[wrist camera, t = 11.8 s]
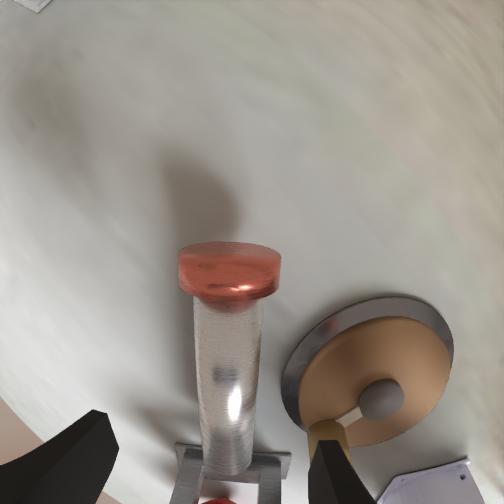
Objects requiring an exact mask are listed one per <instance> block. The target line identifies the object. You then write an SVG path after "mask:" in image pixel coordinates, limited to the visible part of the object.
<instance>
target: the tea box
mask: <svg viewBox="0 0 504 504" xmlns="http://www.w3.org/2000/svg"><path fill="white" fill-rule="evenodd" d="M13 1H15V2H16V3H18V4H20V5H22V6H24V7H26V8H28V9H30V10H31V11H33V12H35V13H39V11H40V10H41V9H42V8H43V7H45V6H46V5H47V4H48V3H49V2H50V1H51V0H13Z"/></svg>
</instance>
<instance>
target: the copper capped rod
mask: <svg viewBox="0 0 504 504" xmlns="http://www.w3.org/2000/svg"><path fill="white" fill-rule="evenodd" d="M280 265H281V255H280V254H279V253H278V252H277V251H275V250H273V249H271V248H268V247H264V246H260V245H255V244H249V243H240V242H209V243H201V244H195V245H191V246H188V247H185V248H183V249H182V250H180V251H179V252H178V280H179V286H180V287H181V289H182V290H184V291H185V292H187V293H188V294H190V295H193V306H194V335H195V356H196V374H197V389H198V403H199V416H200V428H201V438H202V449H203V458H204V463H205V465H206V466H207V467H208V468H209V469H210V470H211V471H212V472H214V473H216V474H219V475H224V476H232V475H237V474H240V473H242V472H244V471H245V470H246V469H247V468H248V467H249V466H250V464H251V460H252V449H253V437H254V425H255V412H256V399H257V386H258V373H259V359H260V345H261V331H262V316H263V301H264V297H266V296H269V295H271V294H273V293H274V292H275V291H276V290H277V289H278V287H279V278H280Z"/></svg>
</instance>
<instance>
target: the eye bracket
mask: <svg viewBox="0 0 504 504" xmlns="http://www.w3.org/2000/svg"><path fill="white" fill-rule="evenodd" d="M175 448H176V453H177V458H178V462H179V467H180V470H179V473H178V476H177V480H176V483H175V487H174V490H173V493H172V497H171V500H170V503H169V504H198V501H199V497H200V492H201V488H202V483H203V479H204V478H206V479H213V480H221V481H231V482H242V483H256V484H258V496H257V504H281V479H286V476H287V472H288V468H289V464H290V460H291V454H281V453H258V452H252V460H251V464H250V466H249V467H248V468H247V469H246V470H245V471H244V472H242V473H240V474H237V475H232V476H224V475H219V474H216V473H214V472H212V471H211V470H210V469H209V468H208V467H207V466H206V465H205V463H204V458H203V449H202V447H199V446H192V445H186V444H180V443H176V444H175Z"/></svg>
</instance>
